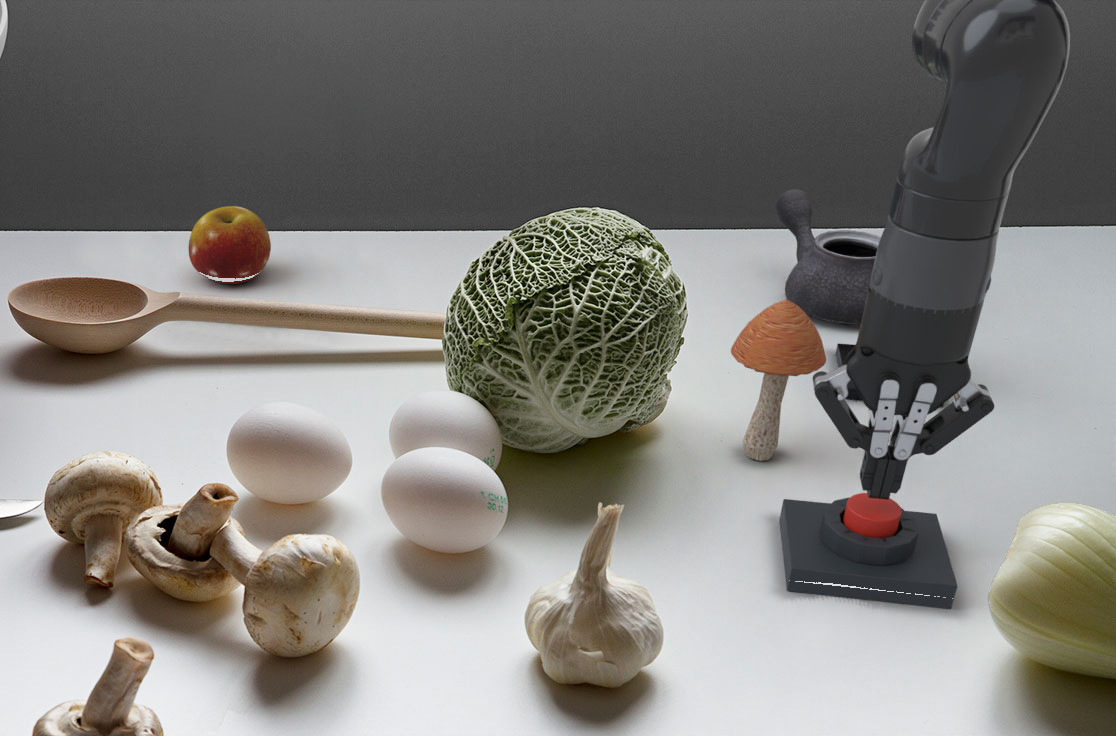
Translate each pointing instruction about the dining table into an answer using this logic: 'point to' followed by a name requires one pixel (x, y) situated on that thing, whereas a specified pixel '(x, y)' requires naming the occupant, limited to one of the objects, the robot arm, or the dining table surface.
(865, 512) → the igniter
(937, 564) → the block
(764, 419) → the mushroom
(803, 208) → the teapot
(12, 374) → the dining table surface
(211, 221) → the fruit
